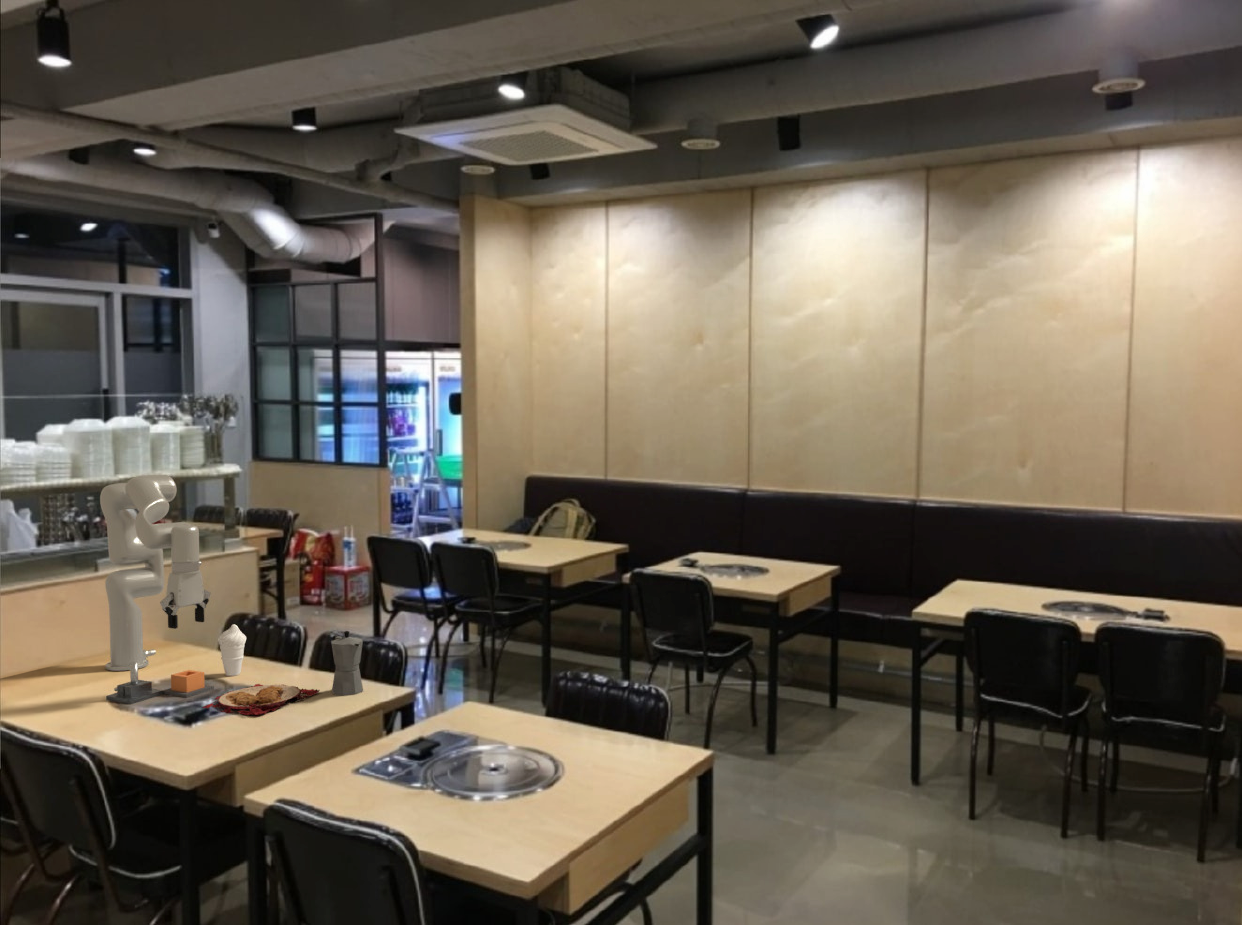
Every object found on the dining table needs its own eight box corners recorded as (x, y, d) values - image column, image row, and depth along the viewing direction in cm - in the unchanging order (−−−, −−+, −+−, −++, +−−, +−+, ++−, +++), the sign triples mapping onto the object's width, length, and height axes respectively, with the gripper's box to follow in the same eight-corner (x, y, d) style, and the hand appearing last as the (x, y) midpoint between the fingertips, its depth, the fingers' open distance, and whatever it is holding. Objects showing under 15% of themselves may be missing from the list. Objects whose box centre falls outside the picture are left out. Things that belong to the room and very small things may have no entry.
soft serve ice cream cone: (212, 676, 312) (211, 625, 312) (230, 670, 320) (229, 620, 320) (235, 678, 310) (234, 627, 309) (252, 672, 318) (251, 622, 317)
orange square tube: (189, 684, 300) (188, 669, 300) (204, 687, 297) (204, 672, 297) (171, 689, 294) (170, 674, 294) (186, 692, 291) (186, 677, 291)
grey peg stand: (138, 690, 297) (138, 657, 296) (162, 694, 292) (162, 660, 292) (106, 699, 287) (105, 665, 286) (130, 704, 282) (129, 669, 282)
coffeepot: (373, 692, 294) (372, 632, 293) (344, 699, 287) (343, 637, 287) (347, 682, 305) (346, 624, 304) (318, 688, 298) (317, 628, 298)
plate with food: (321, 696, 293) (320, 684, 293) (258, 718, 270) (258, 705, 270) (257, 689, 302) (257, 677, 302) (191, 709, 279) (191, 697, 279)
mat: (189, 685, 302) (189, 682, 302) (213, 688, 298) (213, 686, 298) (161, 693, 293) (161, 690, 293) (186, 697, 289) (186, 694, 289)
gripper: (199, 562, 303) (200, 618, 304) (151, 570, 288) (152, 629, 289) (218, 564, 300) (218, 620, 301) (170, 572, 285) (171, 631, 286)
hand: (186, 624), depth 295 cm, fingers open, 9 cm apart
